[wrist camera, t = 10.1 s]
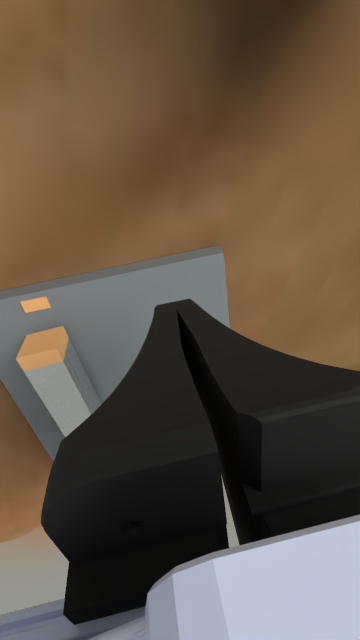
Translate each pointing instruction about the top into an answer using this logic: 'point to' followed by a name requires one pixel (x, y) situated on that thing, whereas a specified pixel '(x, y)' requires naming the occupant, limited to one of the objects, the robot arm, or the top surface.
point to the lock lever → (58, 377)
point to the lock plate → (102, 321)
